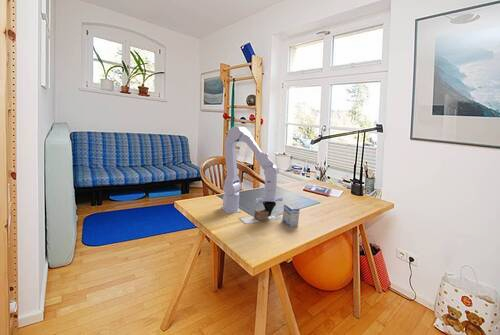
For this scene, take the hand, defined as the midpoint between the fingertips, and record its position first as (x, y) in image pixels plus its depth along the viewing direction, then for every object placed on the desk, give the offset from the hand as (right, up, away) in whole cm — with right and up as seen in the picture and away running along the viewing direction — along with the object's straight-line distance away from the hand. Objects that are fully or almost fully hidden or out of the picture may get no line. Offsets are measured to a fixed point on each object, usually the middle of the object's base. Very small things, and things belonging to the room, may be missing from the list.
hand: (268, 215), depth 136 cm
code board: (-4, -1, -2) cm, 4 cm away
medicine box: (+10, -3, -5) cm, 12 cm away
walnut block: (-4, -1, -2) cm, 4 cm away
